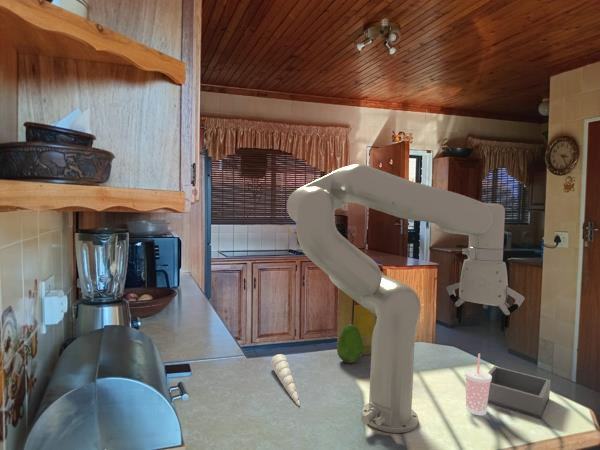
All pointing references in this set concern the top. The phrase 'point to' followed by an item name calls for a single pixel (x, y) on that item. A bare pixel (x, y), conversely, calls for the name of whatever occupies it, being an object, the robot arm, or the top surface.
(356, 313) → the food packaging
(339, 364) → the top surface
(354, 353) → the avocado
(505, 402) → the bin
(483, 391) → the beverage cup
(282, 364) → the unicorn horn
